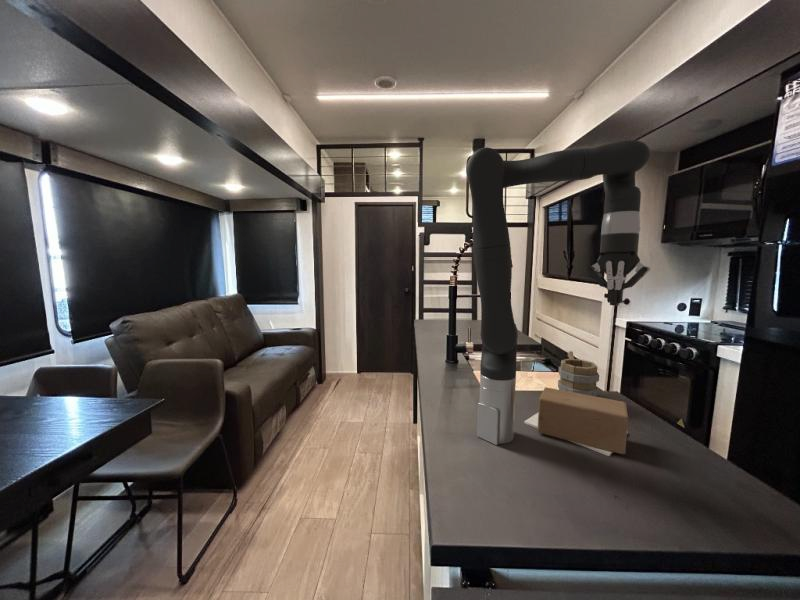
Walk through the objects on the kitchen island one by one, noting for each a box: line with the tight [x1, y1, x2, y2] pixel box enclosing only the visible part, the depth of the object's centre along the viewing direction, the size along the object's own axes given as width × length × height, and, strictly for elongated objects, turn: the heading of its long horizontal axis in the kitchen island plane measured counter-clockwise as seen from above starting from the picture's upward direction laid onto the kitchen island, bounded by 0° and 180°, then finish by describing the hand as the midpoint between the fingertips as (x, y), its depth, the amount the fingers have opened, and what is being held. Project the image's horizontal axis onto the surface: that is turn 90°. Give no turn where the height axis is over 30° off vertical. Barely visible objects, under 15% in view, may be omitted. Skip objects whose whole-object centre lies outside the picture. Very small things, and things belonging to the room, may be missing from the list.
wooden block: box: [537, 386, 629, 455], centre depth 87 cm, size 10×10×20 cm
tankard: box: [557, 350, 600, 397], centre depth 112 cm, size 20×13×15 cm, turn 161°
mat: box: [523, 412, 629, 457], centre depth 92 cm, size 16×22×1 cm
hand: (614, 305), depth 78 cm, fingers closed
